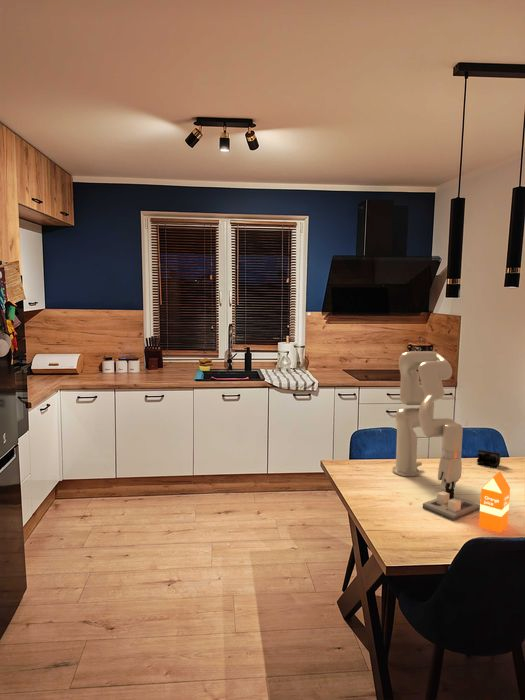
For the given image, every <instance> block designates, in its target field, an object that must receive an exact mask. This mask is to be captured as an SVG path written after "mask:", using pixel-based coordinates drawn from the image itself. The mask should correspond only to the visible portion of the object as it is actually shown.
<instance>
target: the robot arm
mask: <svg viewBox="0 0 525 700" xmlns="http://www.w3.org/2000/svg"><path fill="white" fill-rule="evenodd" d="M398 369H399V373H400V386H399V387H400V389H399V399H400V403H401V404H402V405H404V406H418V407H402V408H400V409H398V410H397V411H396V412H395V423H396V452H395V453H396V454H395V466H393V467H392V468H391V469H392V473H394V474H396V475H398V476H402V477H416V476H418V475H420V470H419V468H418V467H420V466H422V464H423V463H422V462H421V461H417V459H418V435H417V433H416V431H415V430H414V429H416V428H420V429H421V431H422V433H423V435H424V436H426V437H427V438H439V437H440V438H441V437H442V439H441V440H442V442H441V456H440V459H439V462H438V463H439V464H438V469H437V471H438V472H437V479H438V480H437V481H441V483H440V485H441V486H443V487H444V492H447V493H450V496H449V498H454V495H455V488H456V486H457V485H456V483H457V482H458V481H460V479H461V478H462V465H463V463H462V451H463V448H462V447H463V434H464V433H463V432H464V431H463V429H464V427H463V425H462V424H460V423H457V422H456V421H455V420H453V418H448V417H447V418H434V414H435V412H434V411H435V402H436V401H438V400H441V399H442V398H443V397H444V396H445V393H446V392H445V390H444V385H443V382H442V381H443V380H445V381H446V380H449V379H451V377H452V374H453V369H452V365H451V363H449V361H448V360H447V359H446V358H444V356H442V355H441V354H440V353H438V352H437V351H435V350H434V351H432V350H428V351H427V350H423V351H422V350H420V351H419V350H417V351H416V350H413V351H411V350H410V351H405V352H403V353H402V354H400V356H399V358H398ZM420 383H421V384H420Z"/></svg>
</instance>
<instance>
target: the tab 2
mask: <svg viewBox="0 0 525 700" xmlns="http://www.w3.org/2000/svg"><path fill="white" fill-rule="evenodd" d="M460 510H461V501H460V500H458V499H455V498H454V499H451V500H448V511H451V512H453V513H455V512H457V511H460Z"/></svg>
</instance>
